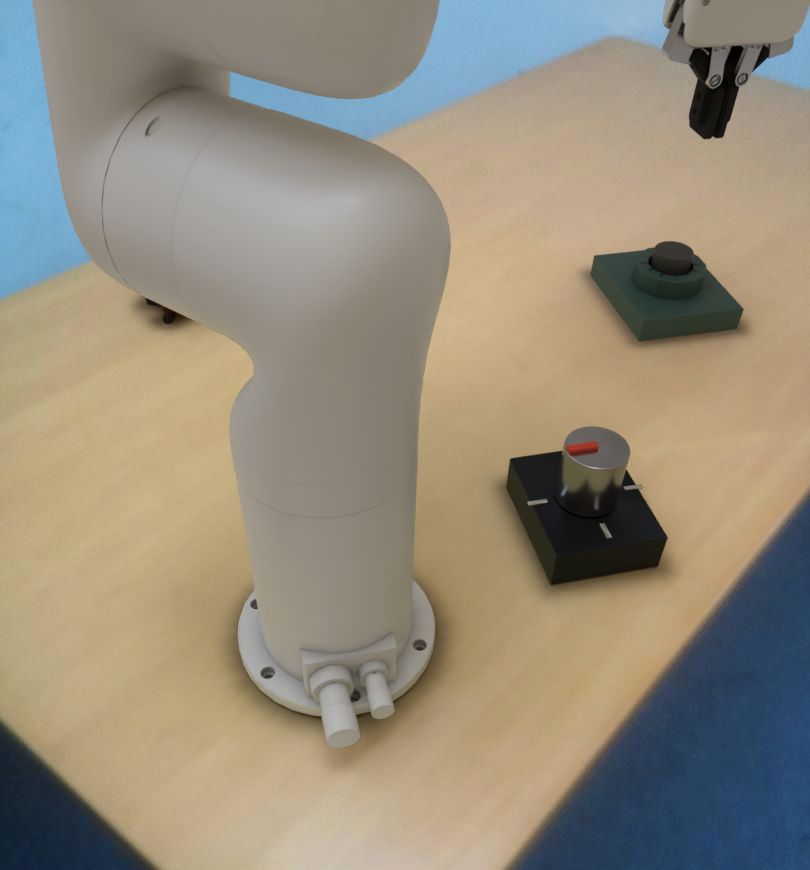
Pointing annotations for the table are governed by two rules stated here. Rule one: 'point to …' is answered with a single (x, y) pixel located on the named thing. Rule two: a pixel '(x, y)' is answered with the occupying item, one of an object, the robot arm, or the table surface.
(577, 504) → the knob
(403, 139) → the table surface
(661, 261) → the button
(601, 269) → the housing
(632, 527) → the panel
